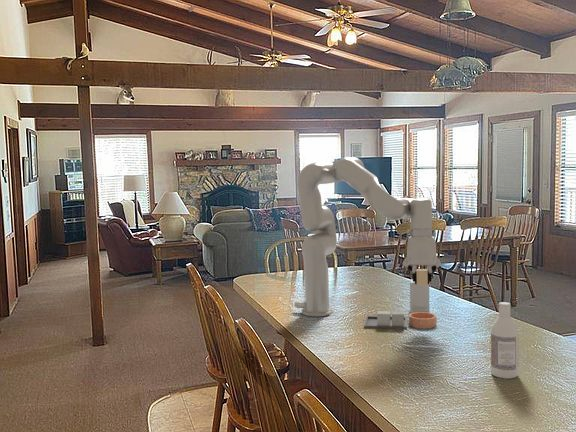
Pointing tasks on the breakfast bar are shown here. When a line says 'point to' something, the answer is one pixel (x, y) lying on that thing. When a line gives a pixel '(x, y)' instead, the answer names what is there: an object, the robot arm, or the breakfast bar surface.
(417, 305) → the supplement box
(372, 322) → the tray
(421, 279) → the beige rectangular block
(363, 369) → the breakfast bar surface
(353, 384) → the breakfast bar surface
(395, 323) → the grey cube
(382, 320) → the grey cube
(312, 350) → the breakfast bar surface
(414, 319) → the bowl
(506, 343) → the bath foam
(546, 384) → the breakfast bar surface
